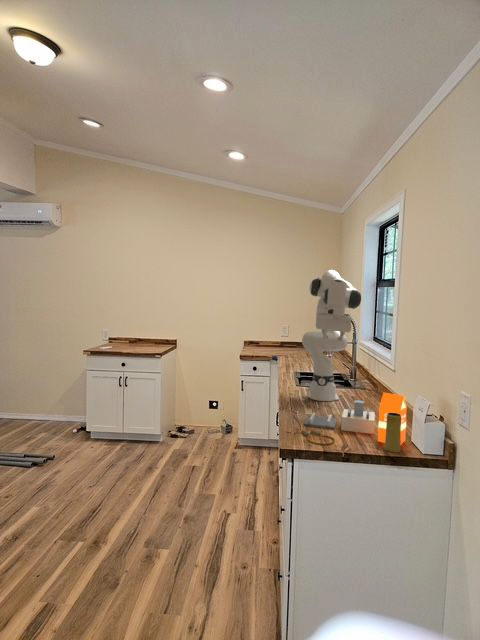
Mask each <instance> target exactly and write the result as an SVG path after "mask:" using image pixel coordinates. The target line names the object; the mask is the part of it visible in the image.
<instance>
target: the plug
mask: <svg viewBox="0 0 480 640" xmlns="http://www.w3.org/2000/svg"><path fill="white" fill-rule="evenodd" d="M364 403H365V401H364V400H359V399H358V400H356V399H354V403H353V404H354V406H353V410H354V415H357V416H363V411H365V410H364V407H365V406H364V405H365V404H364Z"/></svg>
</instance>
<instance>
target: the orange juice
mask: <svg viewBox="0 0 480 640" xmlns="http://www.w3.org/2000/svg"><path fill="white" fill-rule="evenodd" d="M407 409H408V407H407V404H406V397H405V395H402V394H401V395H400V394H393V393H389V392H384V391H383V394H382V397H381V401H380V404H379V410H378V412H379V413H378V429H377V430H378V431H377V432H378V433H377V434H378V436H377V442H379V443H384V444H385V437H386V424H387V413H389V412H394V413H399V414H401V445H403V444H404V443H405V442H406V433H407V432H406V430H407V411H408V410H407ZM404 441H405V442H404ZM403 442H404V443H403ZM402 443H403V444H402Z"/></svg>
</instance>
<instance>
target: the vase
mask: <svg viewBox="0 0 480 640" xmlns="http://www.w3.org/2000/svg"><path fill="white" fill-rule="evenodd" d="M401 446H402V444H401V414H399V413H394V412H389V413H387V424H386V437H385V443H384V447H383V448H384V450H385V451H387V452H390V453H399V452H401V451H402V449H401Z"/></svg>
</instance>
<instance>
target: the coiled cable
mask: <svg viewBox="0 0 480 640" xmlns="http://www.w3.org/2000/svg"><path fill="white" fill-rule="evenodd" d="M301 434H302V435H303V434H304V435H303V436H306V440H308V441H307V442H308V443H311V444H314V445H317V446H331V445H334V443H335V438H334V437H332V436H329V435H325V434H322V433H321V432H320V431H317V430H314V429H311V430H310V433H309V431H307V430H305V429H303V430H302V431H301ZM310 434H311V435H310ZM312 435H314V436H322V437H324V438H330V439H331V440H333V441H331V442H328V443H322V442H321V443H319V442H315V441H311V440H310V439H309V438H311V436H312Z"/></svg>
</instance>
